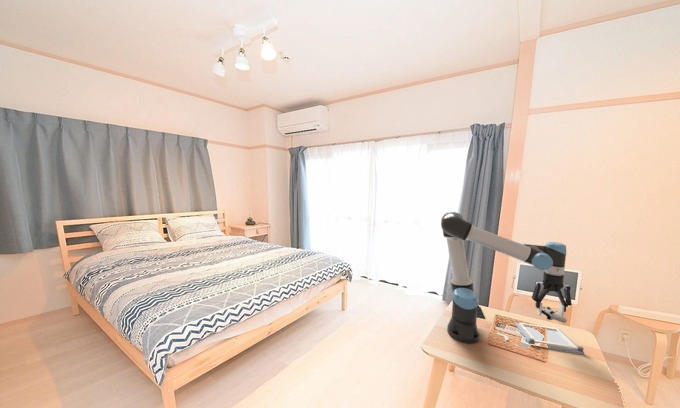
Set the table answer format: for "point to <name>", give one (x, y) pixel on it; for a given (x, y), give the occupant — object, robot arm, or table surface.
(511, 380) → the table surface
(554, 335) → the chassis
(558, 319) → the gaming controller
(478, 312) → the smartphone
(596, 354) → the table surface
